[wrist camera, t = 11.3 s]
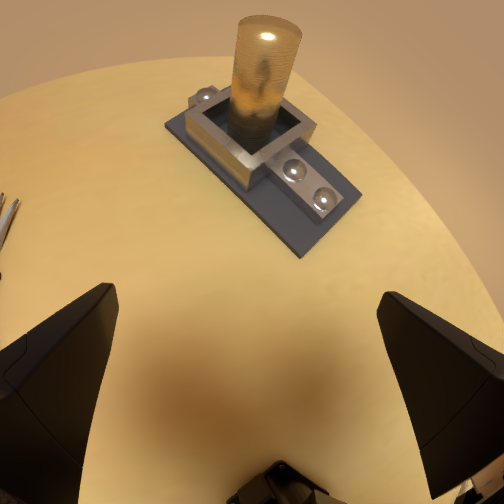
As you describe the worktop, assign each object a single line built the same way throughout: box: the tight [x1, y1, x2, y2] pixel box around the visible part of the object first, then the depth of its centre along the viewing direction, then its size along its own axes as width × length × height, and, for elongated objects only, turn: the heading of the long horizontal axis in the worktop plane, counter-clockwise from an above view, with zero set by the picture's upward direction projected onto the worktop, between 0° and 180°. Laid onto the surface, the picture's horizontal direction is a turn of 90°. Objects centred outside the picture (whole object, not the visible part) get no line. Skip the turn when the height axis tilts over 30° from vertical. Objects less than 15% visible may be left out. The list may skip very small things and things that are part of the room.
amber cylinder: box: [227, 15, 302, 156], centre depth 20 cm, size 4×4×12 cm
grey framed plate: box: [185, 86, 344, 225], centre depth 24 cm, size 17×8×4 cm, turn 44°
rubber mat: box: [164, 85, 363, 259], centre depth 26 cm, size 18×9×1 cm, turn 44°
